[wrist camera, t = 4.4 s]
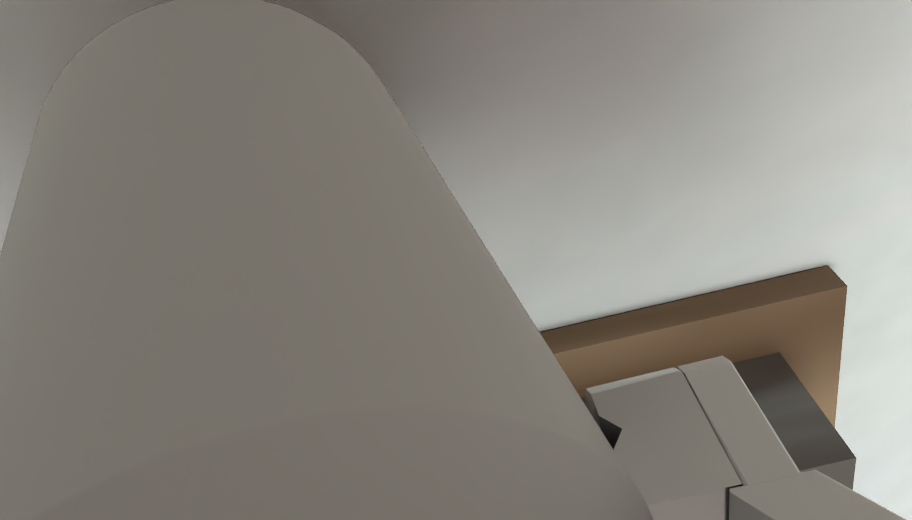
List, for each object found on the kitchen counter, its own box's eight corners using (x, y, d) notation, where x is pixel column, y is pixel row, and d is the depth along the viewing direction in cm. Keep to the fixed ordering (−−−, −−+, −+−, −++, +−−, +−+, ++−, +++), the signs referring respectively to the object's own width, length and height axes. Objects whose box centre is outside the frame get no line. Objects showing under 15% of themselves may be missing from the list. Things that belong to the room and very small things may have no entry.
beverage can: (395, -22, 15) (864, 475, 5) (390, 277, 18) (661, 910, 8) (-2, -14, 13) (-463, 783, 3) (78, 316, 16) (-30, 1174, 7)
